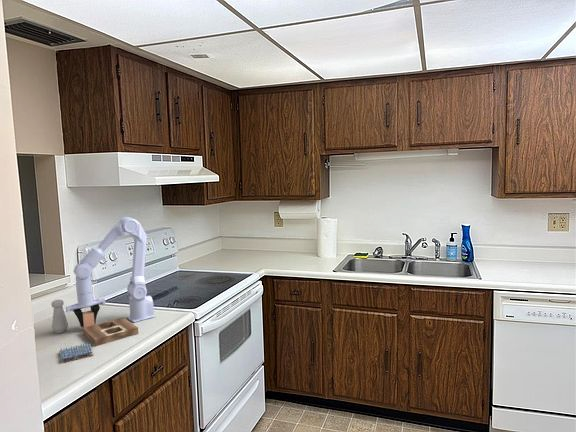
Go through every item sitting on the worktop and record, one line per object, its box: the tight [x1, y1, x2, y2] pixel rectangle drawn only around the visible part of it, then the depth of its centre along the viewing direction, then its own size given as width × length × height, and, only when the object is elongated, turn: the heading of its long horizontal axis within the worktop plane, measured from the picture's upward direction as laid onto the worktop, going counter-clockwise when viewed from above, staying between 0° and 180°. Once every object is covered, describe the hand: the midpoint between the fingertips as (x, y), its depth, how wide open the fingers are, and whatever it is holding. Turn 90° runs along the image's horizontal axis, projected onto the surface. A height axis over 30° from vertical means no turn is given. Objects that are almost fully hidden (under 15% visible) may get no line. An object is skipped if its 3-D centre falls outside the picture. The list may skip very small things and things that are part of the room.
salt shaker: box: [50, 299, 69, 334], centre depth 171 cm, size 6×6×13 cm
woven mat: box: [58, 343, 95, 364], centre depth 150 cm, size 10×11×2 cm
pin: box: [81, 309, 96, 331], centre depth 173 cm, size 4×4×7 cm
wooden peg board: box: [82, 317, 140, 347], centre depth 167 cm, size 16×16×3 cm
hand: (88, 324), depth 173 cm, fingers closed on pin, 4 cm apart
